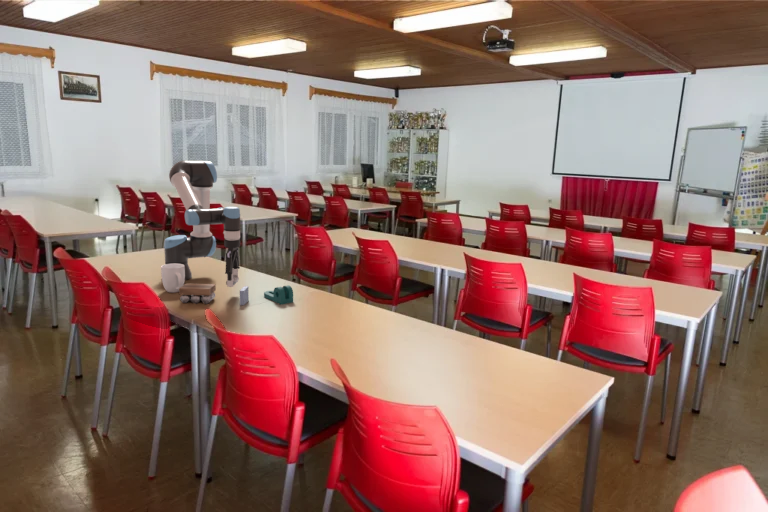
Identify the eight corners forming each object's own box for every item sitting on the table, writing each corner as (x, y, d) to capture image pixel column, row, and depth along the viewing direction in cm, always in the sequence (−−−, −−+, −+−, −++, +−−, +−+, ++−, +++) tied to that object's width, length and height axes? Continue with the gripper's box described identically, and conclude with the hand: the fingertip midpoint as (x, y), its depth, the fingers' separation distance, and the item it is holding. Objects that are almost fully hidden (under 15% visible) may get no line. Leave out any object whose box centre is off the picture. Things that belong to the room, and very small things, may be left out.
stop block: (244, 300, 247) (244, 286, 246) (248, 300, 247) (248, 286, 246) (239, 305, 240) (239, 290, 238) (244, 305, 240) (243, 290, 238)
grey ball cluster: (186, 298, 247) (186, 290, 246) (215, 299, 247) (215, 291, 247) (180, 302, 239) (179, 294, 239) (210, 304, 239) (209, 295, 239)
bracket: (293, 302, 247) (293, 286, 246) (281, 305, 243) (281, 289, 241) (273, 294, 260) (273, 279, 258) (261, 296, 255) (261, 281, 254)
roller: (231, 282, 256) (230, 274, 256) (239, 282, 256) (238, 274, 256) (226, 286, 249) (225, 279, 248) (234, 287, 249) (234, 279, 248)
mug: (192, 293, 256) (191, 267, 253) (170, 296, 248) (169, 270, 246) (180, 286, 266) (179, 262, 264) (158, 290, 259) (157, 265, 256)
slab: (186, 289, 247) (186, 283, 246) (215, 290, 247) (215, 284, 246) (179, 294, 238) (179, 288, 237) (209, 295, 238) (209, 289, 238)
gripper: (230, 234, 257) (231, 278, 263) (217, 242, 237) (218, 289, 242) (245, 235, 258) (245, 278, 263) (233, 243, 237) (234, 290, 242)
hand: (232, 283), depth 252 cm, fingers closed on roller, 8 cm apart
